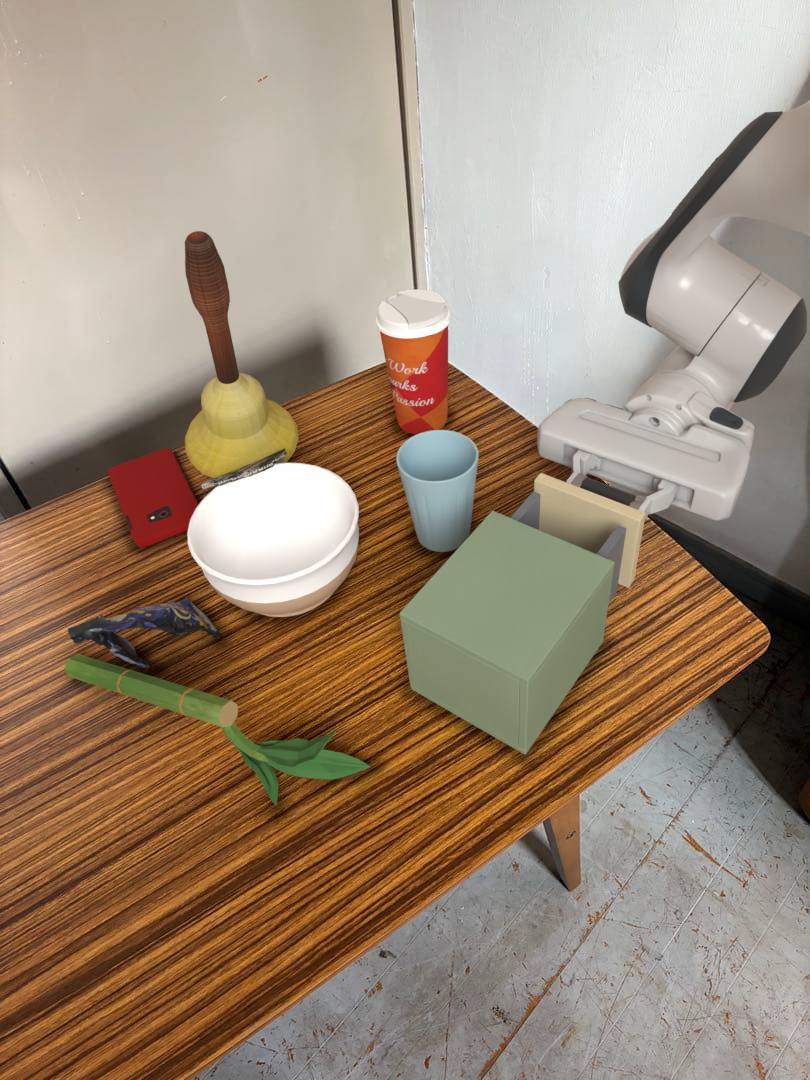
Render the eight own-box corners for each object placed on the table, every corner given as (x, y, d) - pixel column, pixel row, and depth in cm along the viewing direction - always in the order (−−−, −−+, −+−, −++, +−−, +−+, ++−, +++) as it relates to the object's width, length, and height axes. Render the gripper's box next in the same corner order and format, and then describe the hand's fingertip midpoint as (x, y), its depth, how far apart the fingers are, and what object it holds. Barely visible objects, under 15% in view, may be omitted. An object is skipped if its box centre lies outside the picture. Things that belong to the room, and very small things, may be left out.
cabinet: (493, 589, 75) (492, 510, 68) (603, 641, 70) (615, 561, 63) (410, 689, 68) (399, 613, 61) (525, 755, 63) (528, 681, 56)
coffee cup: (374, 421, 96) (357, 309, 85) (423, 391, 99) (413, 279, 88) (422, 450, 91) (411, 335, 80) (472, 417, 94) (467, 302, 84)
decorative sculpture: (303, 441, 93) (225, 472, 93) (301, 437, 92) (223, 468, 93) (276, 465, 73) (178, 505, 74) (274, 460, 73) (176, 500, 74)
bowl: (223, 661, 72) (199, 605, 66) (198, 545, 83) (176, 488, 77) (390, 607, 75) (380, 549, 69) (344, 501, 86) (333, 444, 80)
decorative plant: (97, 623, 74) (364, 695, 58) (130, 689, 78) (387, 771, 63) (44, 666, 69) (317, 755, 54) (82, 733, 74) (345, 833, 58)
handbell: (196, 494, 82) (133, 298, 61) (175, 411, 88) (111, 207, 68) (311, 466, 84) (288, 268, 64) (283, 386, 91) (254, 183, 70)
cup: (447, 572, 77) (441, 493, 70) (390, 538, 81) (379, 460, 74) (495, 529, 81) (494, 449, 74) (439, 498, 85) (432, 420, 78)
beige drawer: (560, 511, 81) (565, 444, 75) (655, 549, 76) (669, 481, 70) (468, 622, 72) (465, 557, 66) (569, 673, 67) (575, 608, 61)
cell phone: (105, 467, 92) (108, 474, 93) (134, 544, 83) (137, 550, 83) (169, 444, 94) (172, 451, 95) (205, 516, 85) (207, 523, 85)
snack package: (100, 616, 77) (219, 591, 78) (109, 682, 76) (230, 656, 76) (46, 599, 65) (187, 570, 66) (56, 677, 64) (199, 646, 65)
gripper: (575, 370, 84) (506, 441, 76) (772, 430, 74) (716, 517, 67) (571, 418, 88) (506, 490, 81) (756, 481, 79) (702, 568, 71)
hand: (602, 503), depth 74 cm, fingers closed on beige drawer, 5 cm apart
